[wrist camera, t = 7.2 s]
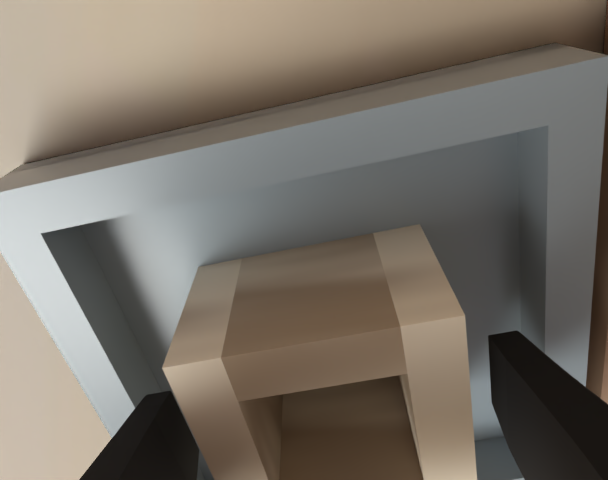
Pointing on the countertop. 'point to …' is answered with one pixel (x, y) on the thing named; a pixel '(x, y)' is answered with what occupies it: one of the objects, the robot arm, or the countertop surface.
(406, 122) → the tray
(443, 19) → the countertop surface
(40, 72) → the countertop surface
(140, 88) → the countertop surface
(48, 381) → the countertop surface
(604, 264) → the stake board
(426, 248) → the hollow wooden block
